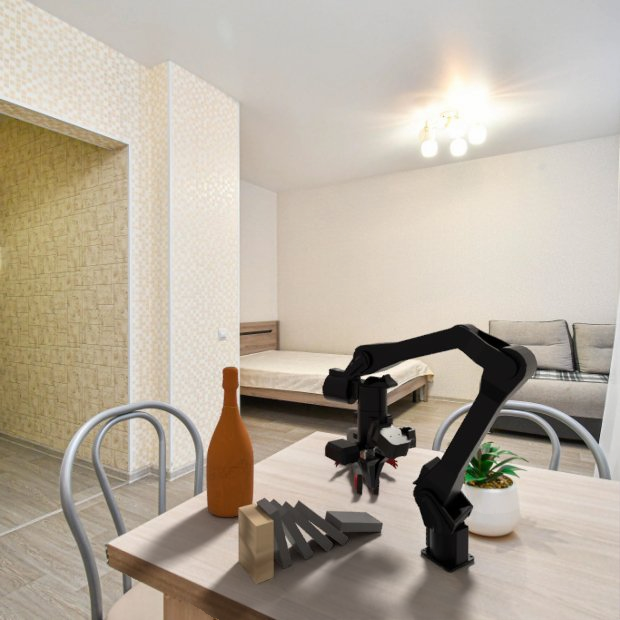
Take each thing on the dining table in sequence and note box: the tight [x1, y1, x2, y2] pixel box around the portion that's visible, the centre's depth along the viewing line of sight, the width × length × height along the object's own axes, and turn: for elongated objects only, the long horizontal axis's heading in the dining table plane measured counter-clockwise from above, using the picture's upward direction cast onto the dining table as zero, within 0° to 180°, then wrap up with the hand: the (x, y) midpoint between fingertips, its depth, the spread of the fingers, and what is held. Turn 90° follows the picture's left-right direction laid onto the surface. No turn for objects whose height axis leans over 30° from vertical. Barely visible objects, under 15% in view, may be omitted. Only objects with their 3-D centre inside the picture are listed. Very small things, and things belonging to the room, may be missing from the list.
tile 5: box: [255, 497, 293, 570], centre depth 71 cm, size 5×2×10 cm, turn 32°
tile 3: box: [281, 500, 334, 553], centre depth 75 cm, size 5×2×10 cm
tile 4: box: [269, 498, 314, 561], centre depth 73 cm, size 5×2×10 cm, turn 32°
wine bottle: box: [205, 366, 255, 518], centre depth 90 cm, size 10×10×30 cm
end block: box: [237, 502, 275, 585], centre depth 69 cm, size 7×3×9 cm, turn 32°
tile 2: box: [293, 500, 349, 547], centre depth 76 cm, size 5×2×10 cm
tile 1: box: [324, 510, 384, 533], centre depth 80 cm, size 5×2×10 cm
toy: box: [333, 425, 399, 495], centre depth 111 cm, size 16×10×30 cm
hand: (371, 488), depth 82 cm, fingers closed
